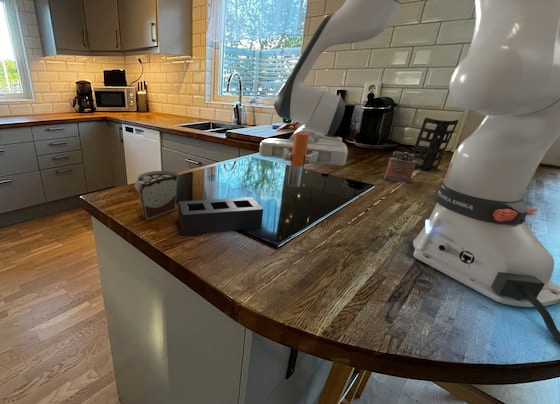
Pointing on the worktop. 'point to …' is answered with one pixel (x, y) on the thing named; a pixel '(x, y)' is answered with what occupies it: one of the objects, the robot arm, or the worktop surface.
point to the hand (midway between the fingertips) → (297, 158)
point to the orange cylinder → (298, 159)
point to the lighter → (400, 167)
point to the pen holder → (219, 215)
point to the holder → (433, 143)
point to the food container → (157, 192)
